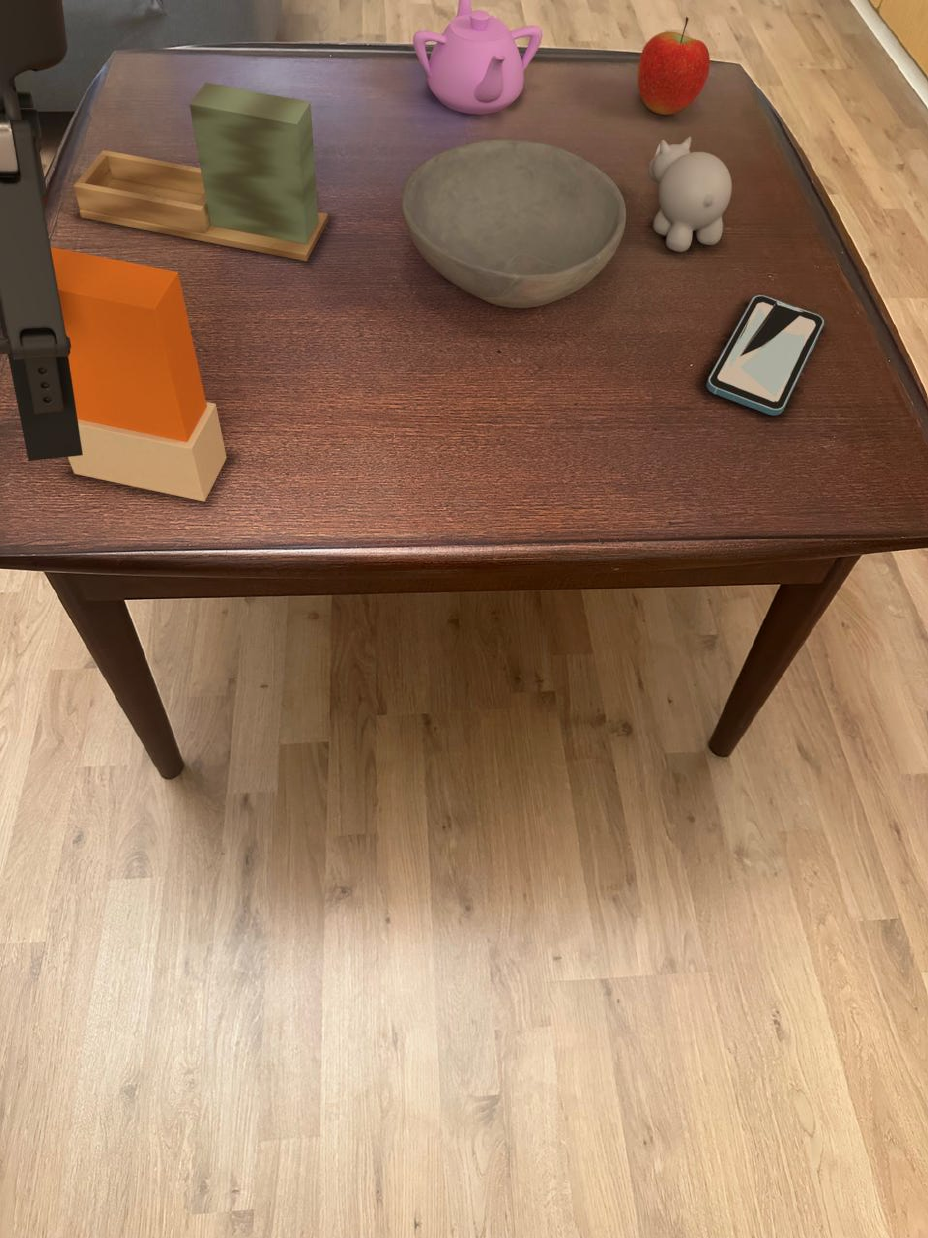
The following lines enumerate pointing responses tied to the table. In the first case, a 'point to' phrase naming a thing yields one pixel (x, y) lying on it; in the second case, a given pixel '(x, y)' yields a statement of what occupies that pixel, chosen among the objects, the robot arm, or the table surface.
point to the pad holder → (221, 178)
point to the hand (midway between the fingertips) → (39, 389)
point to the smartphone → (765, 355)
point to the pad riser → (154, 457)
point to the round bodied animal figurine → (689, 194)
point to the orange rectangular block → (129, 345)
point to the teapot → (476, 61)
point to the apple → (672, 71)
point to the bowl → (514, 220)
